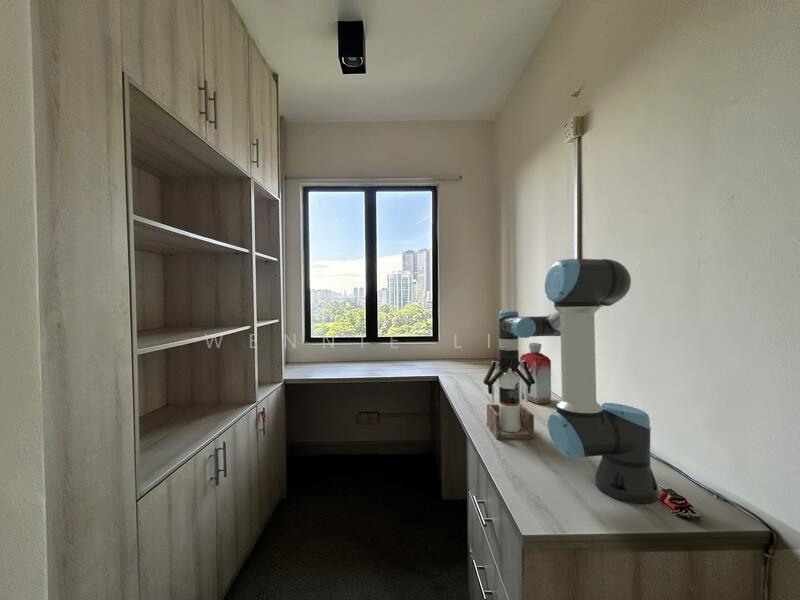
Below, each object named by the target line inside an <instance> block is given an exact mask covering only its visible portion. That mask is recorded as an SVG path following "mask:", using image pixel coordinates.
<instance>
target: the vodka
mask: <svg viewBox="0 0 800 600" xmlns="http://www.w3.org/2000/svg"><path fill="white" fill-rule="evenodd" d="M508 365H509V367H508V371H507V372H503V373H502V374H501V375H500V376H499V378H498V379H497V380H498V398H499V399H498V401H499V402H498V405H499V424H500V430H502V431H505V432H518V431H520V430H521V428H522V424H521V419H520V404H521V403H520V401H521V398H520V397H521V392H520V376H519V375H518V374H517V373H516V372H512V369H511V360H508Z"/></svg>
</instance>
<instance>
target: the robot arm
mask: <svg viewBox="0 0 800 600" xmlns="http://www.w3.org/2000/svg"><path fill="white" fill-rule="evenodd" d="M631 286H632V279H631V275H630V272H629V270H628V269H627V268H626V266H624V264H622V263H621V262H619V261H616V260H613V259H610V258H609V259H607V258H601V259H599V258H597V259H596V258H595V259H594V258H592V259H591V258H568V259H560V260H557V261H556V262H554V263H553V264H551V266H550V268H549V269H548V271H547V274H546V277H545V280H544V292H545V294H546V298H547V300H549V301H551V302H553V308H554V311H552V312H551V313H550V314H549V315H544V316H543V315H541V316H519V313H518V310H501V311H499V313H498V348H499V351H498V352H499V353H498V355H499V356H498V359H499V360H498V361H494V360H491V362H490V367H489V369H488V371H487V373H486V375H485V377H484V378H483V381H482V382H483V383H484V385H486V386H487V392H488V394H489V395H490V402H491V403H492V404H493V403H495V386H494V384H495V383H496V381H497V380H498V378H499V376H500V375H501V374H502V373H503V372H507V371H508V367H509V365H508V360H511V369H512V372H514V373H516V374H517V375H518V376H519V378H520V377H521V379H522V380H523V381H524V382H525V383H526V384H524V399H523V400H524V402H525V403H529V401H528V393H530V386H531V385H532V384H535V381H534V379H533V377H532V375H531V373H530V371H529V369H528V367H527V362H526V361H524V360H522V361H520V359H519V358H520V355H519V345H520V344H519V343H520V342H519V338H521V339H522V338H523V339H528V338H531V337H532V338H533V337H560V367H561V399H560V400H559V401H558V402H556V412H552V413H550V415H549V416H548V419H547V430H548V433H549V437H550V439H551V441H552V443H553V445H554V446H555V449H557V451H558V452H559V453H560V454H561V455H562V456H564V457H567V458H579V459H582V458H587V457H588V458H589V457H600V456H601V458H600V461H599V464H598V466H597V469H596V472H595V474H594V475H595V477H594V478H595V479H594V483H595V485H596V488H597V489H598V490H600V491H601V492H602V493H604V494H605V495H607V496H609V497H612V498H614V499H617V500H619V501H623V502H627V503H633V504H652V503H654V502H657V500H658V499H659V486H658V484H657V481H656V478H655V476H654V472H653V469H652V465H651V430H652V428H651V423H650V422H651V420H650V416H649V414H648V413H647V412H645V411H643V410H641V409H639V408H636V407H634V406H631V405H630V406H629V405H626V404H622V403H621V404H620V403H613V402H604V403H602V404H601V405H600V403H599V402H597V373H596V372H597V370H596V369H597V368H596V366H597V364H596V336H595V335H596V334H595V333H596V331H595V330H596V329H595V328H596V327H595V323H596V322H595V313H596V312H597V311H598V310H600V309H601V308H603V307H610V306H613V305H614V304H616V303H618V302H619V301H621V300H622V299H623V298H624V297H625V296H626V295H627V294H628V293H629V291H630V289H631ZM520 364H521V366H523V369H524V371H525V373H526V375H527V376H528V378H529V380H530V381H528V380H527V379H526V378H525V376H524V375H523V374H522V373H521V372H520V368H519V367H520ZM498 366H499V368H498V369H497V371H496V372H495V373H494V371H495V369H496V367H498ZM493 374H494V375H493Z"/></svg>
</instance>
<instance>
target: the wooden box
mask: <svg viewBox="0 0 800 600" xmlns="http://www.w3.org/2000/svg"><path fill="white" fill-rule="evenodd" d="M486 414H487V415H486V417H487V419H486V421H487V423H486V426H487V428H488V427H489V428H488V429H489V431H490V432H491V434H492V435H493V436H494V438H495V439H496V440H497V441H501V440H502V441H507V440H508V441H510V440H511V441H513V440H515V441H516V440H519V441H522V440H536V438H535V437H536V436H535V418H534V416H535V415H534V414H533V413H532V412H531V411H530V410H528V408H526V407H525V406H524V405H523V404H521V403H520V419H521V424H522V428H521V430H520V431H518V432H505V431H502V430H500V424H499V404H487V406H486Z"/></svg>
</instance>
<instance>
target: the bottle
mask: <svg viewBox="0 0 800 600" xmlns="http://www.w3.org/2000/svg"><path fill="white" fill-rule="evenodd" d="M528 349H529V352H527V353H524V354H522V355H521V356H519V358H520V359H519V361H522V360H524V361H526V362H527V367H528V369H529V371H530V373H531V375H532V377H533V379H534V381H535V384H532V385H531V386H530V393H528V402H531V403H533V404H536V405H545V404H546V405H547V404H550V403H551V402H552V401H551V399H552V360H551V359H550V357H548V356H546V355H545V354H543V353H541V349H542V344H541V343H540V342H529V343H528ZM519 370H520V372H521V373H522V374H523V375H524V376H525V378H526V379H527V380H528V381H530V380H529V378H528V376H527V375H526V373H525V371H524V369H523V366H521V364H520V365H519ZM519 378H520V397H521V398H522V399H523V398H524V384H526V383H525V382H524V381H523V380H522V379H521V377H520V376H519Z"/></svg>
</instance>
